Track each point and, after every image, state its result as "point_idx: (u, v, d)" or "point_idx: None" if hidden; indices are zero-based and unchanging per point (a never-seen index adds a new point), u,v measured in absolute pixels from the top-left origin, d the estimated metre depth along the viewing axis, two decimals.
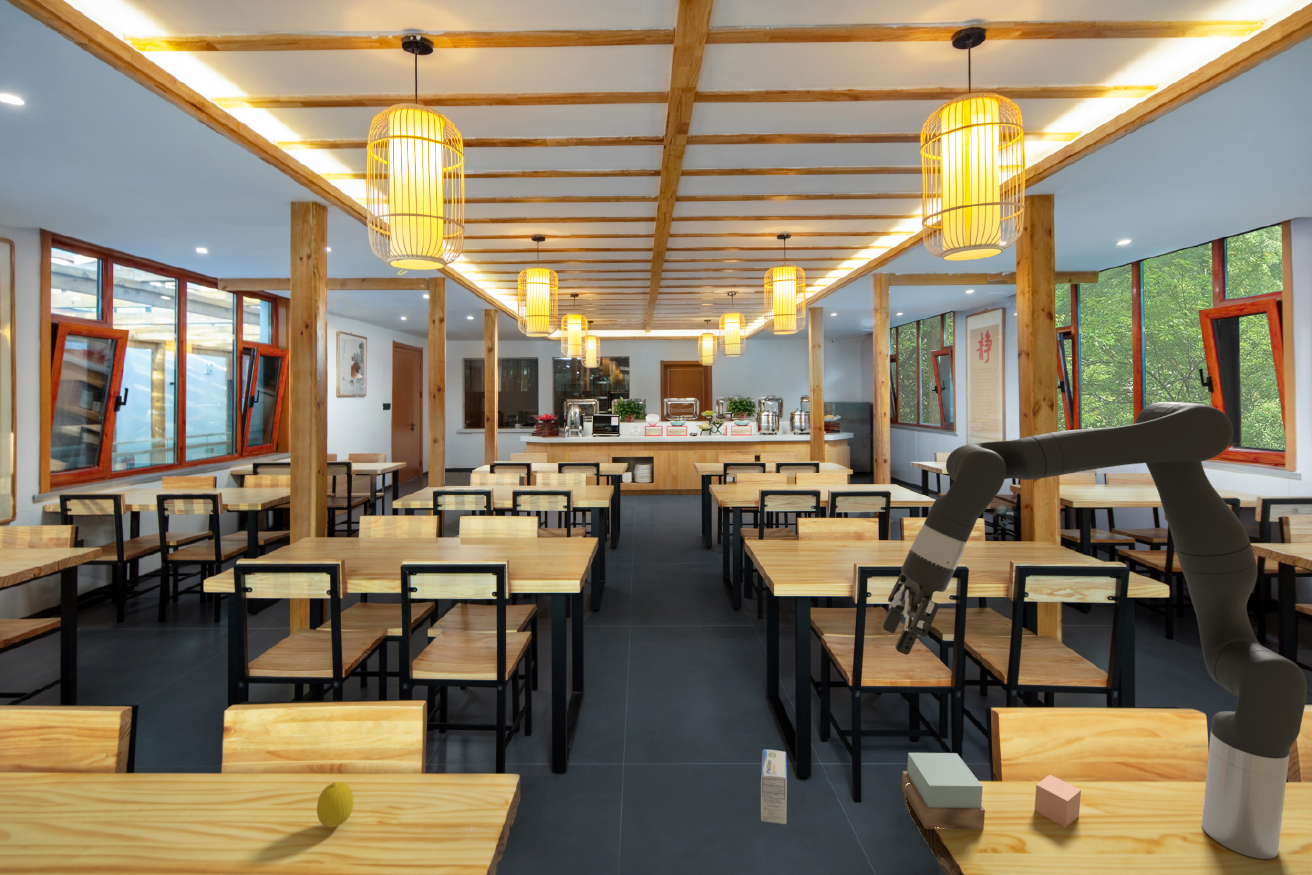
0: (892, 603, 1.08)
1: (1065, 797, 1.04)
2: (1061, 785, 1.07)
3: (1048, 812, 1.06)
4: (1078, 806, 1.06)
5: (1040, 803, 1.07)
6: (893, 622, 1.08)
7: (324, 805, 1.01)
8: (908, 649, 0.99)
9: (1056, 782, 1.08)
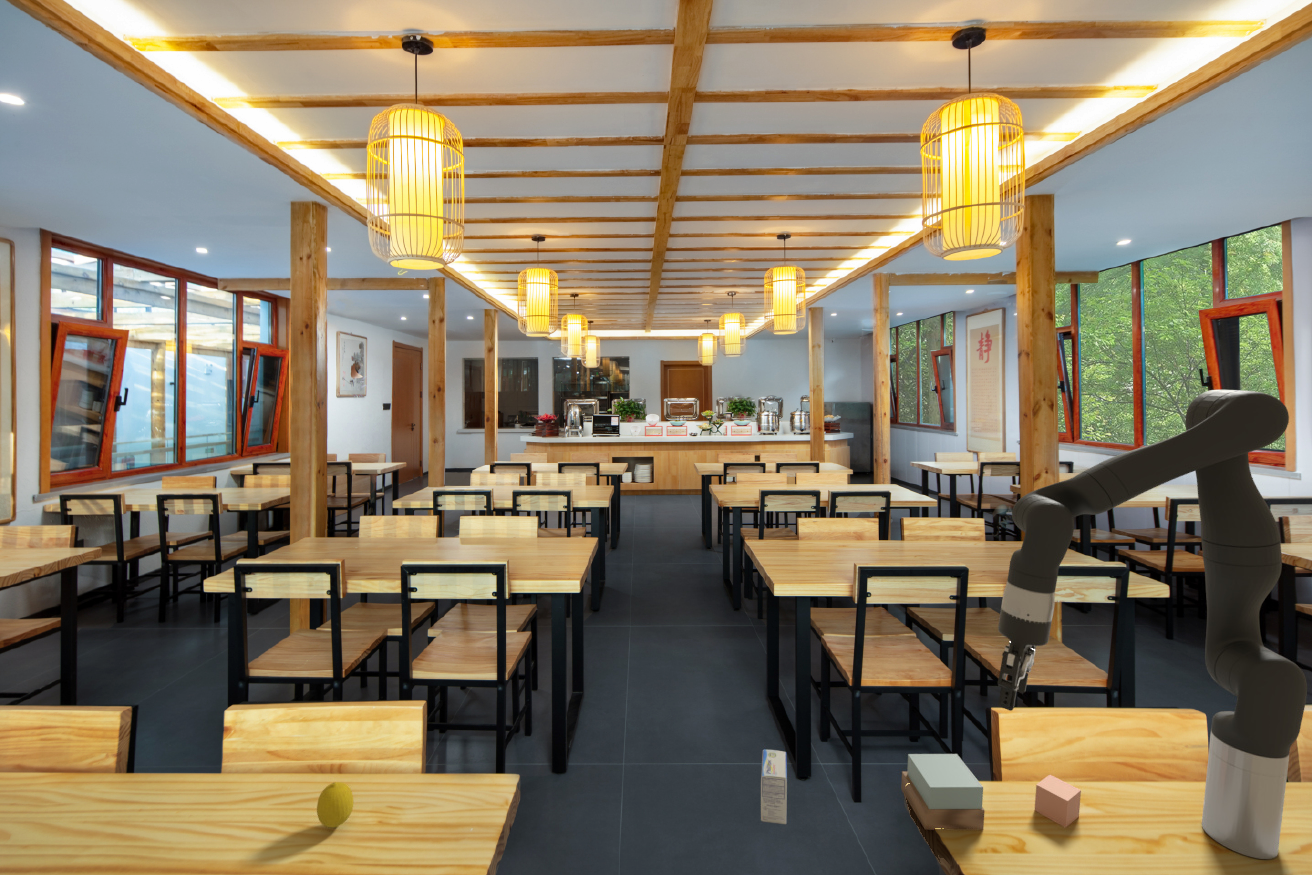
0: None
1: (1065, 797, 1.04)
2: (1061, 785, 1.07)
3: (1048, 812, 1.06)
4: (1078, 806, 1.06)
5: (1040, 803, 1.07)
6: (1020, 681, 1.08)
7: (324, 805, 1.01)
8: (1008, 704, 1.01)
9: (1056, 782, 1.08)
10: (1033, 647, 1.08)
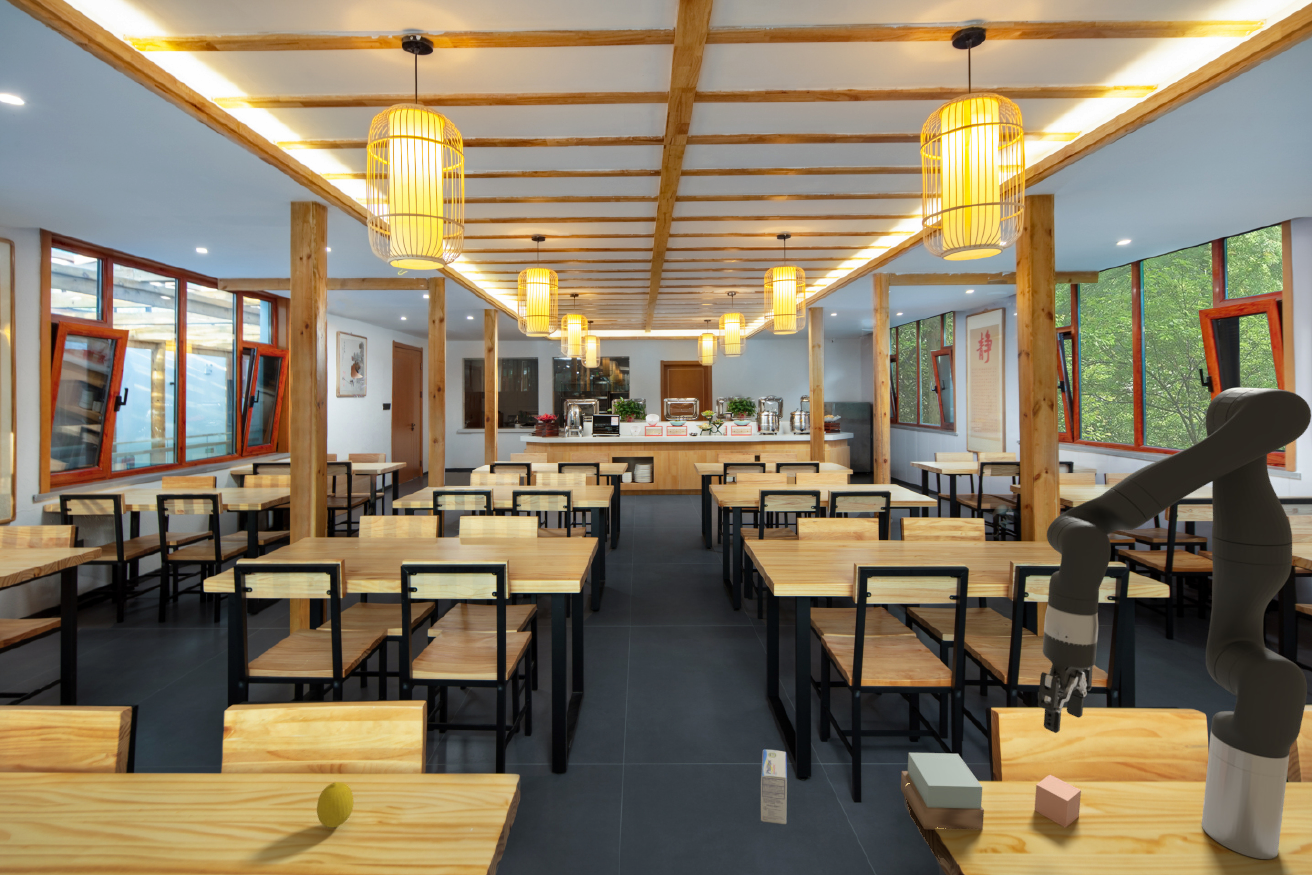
0: None
1: (1065, 797, 1.04)
2: (1061, 785, 1.07)
3: (1048, 812, 1.06)
4: (1078, 806, 1.06)
5: (1040, 803, 1.07)
6: (1075, 705, 1.07)
7: (324, 805, 1.01)
8: (1051, 726, 1.02)
9: (1056, 782, 1.08)
10: (1088, 671, 1.07)
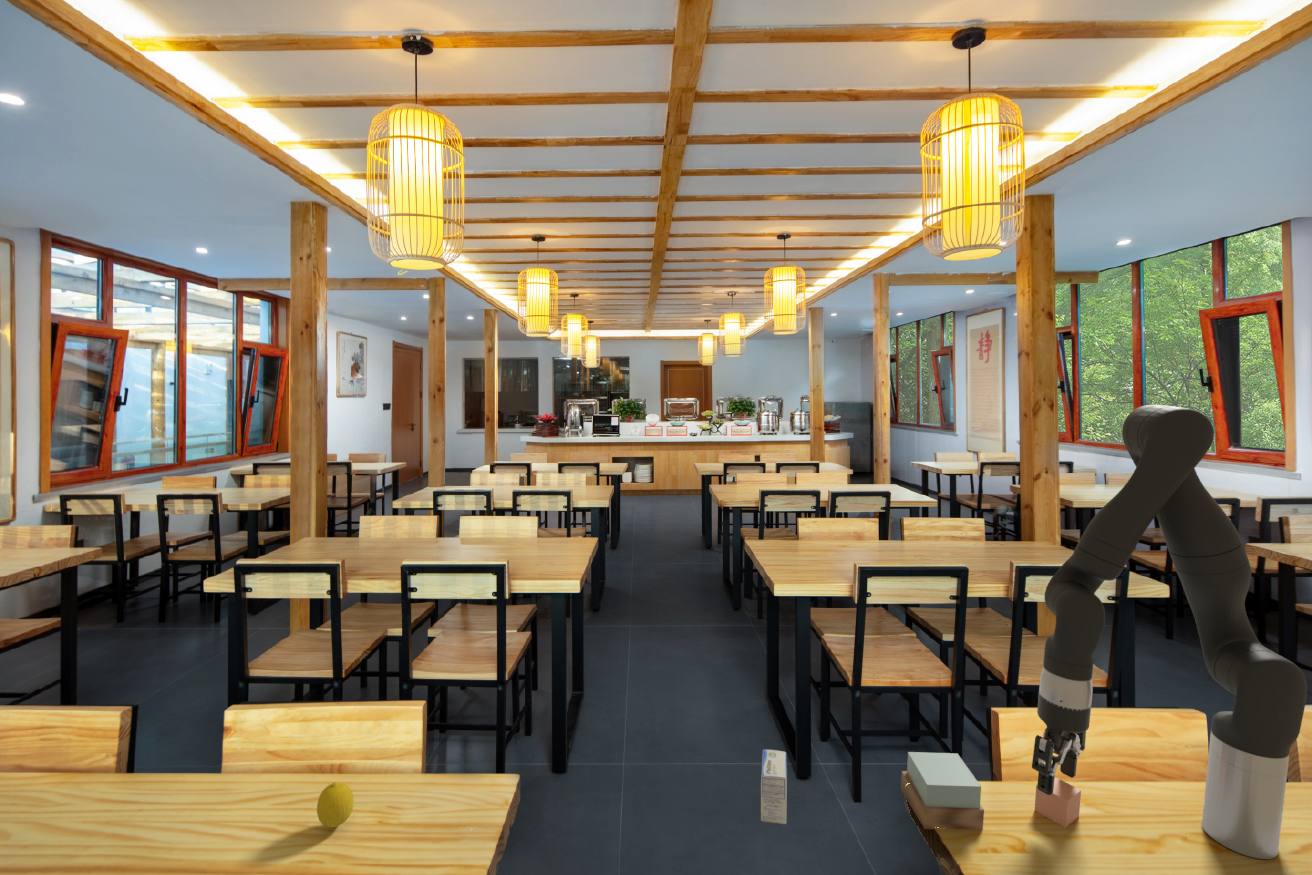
0: None
1: (1065, 797, 1.04)
2: (1061, 785, 1.07)
3: (1048, 812, 1.06)
4: (1078, 806, 1.06)
5: (1040, 803, 1.07)
6: (1068, 765, 1.08)
7: (324, 805, 1.01)
8: (1045, 788, 1.03)
9: (1057, 782, 1.08)
10: (1081, 731, 1.08)
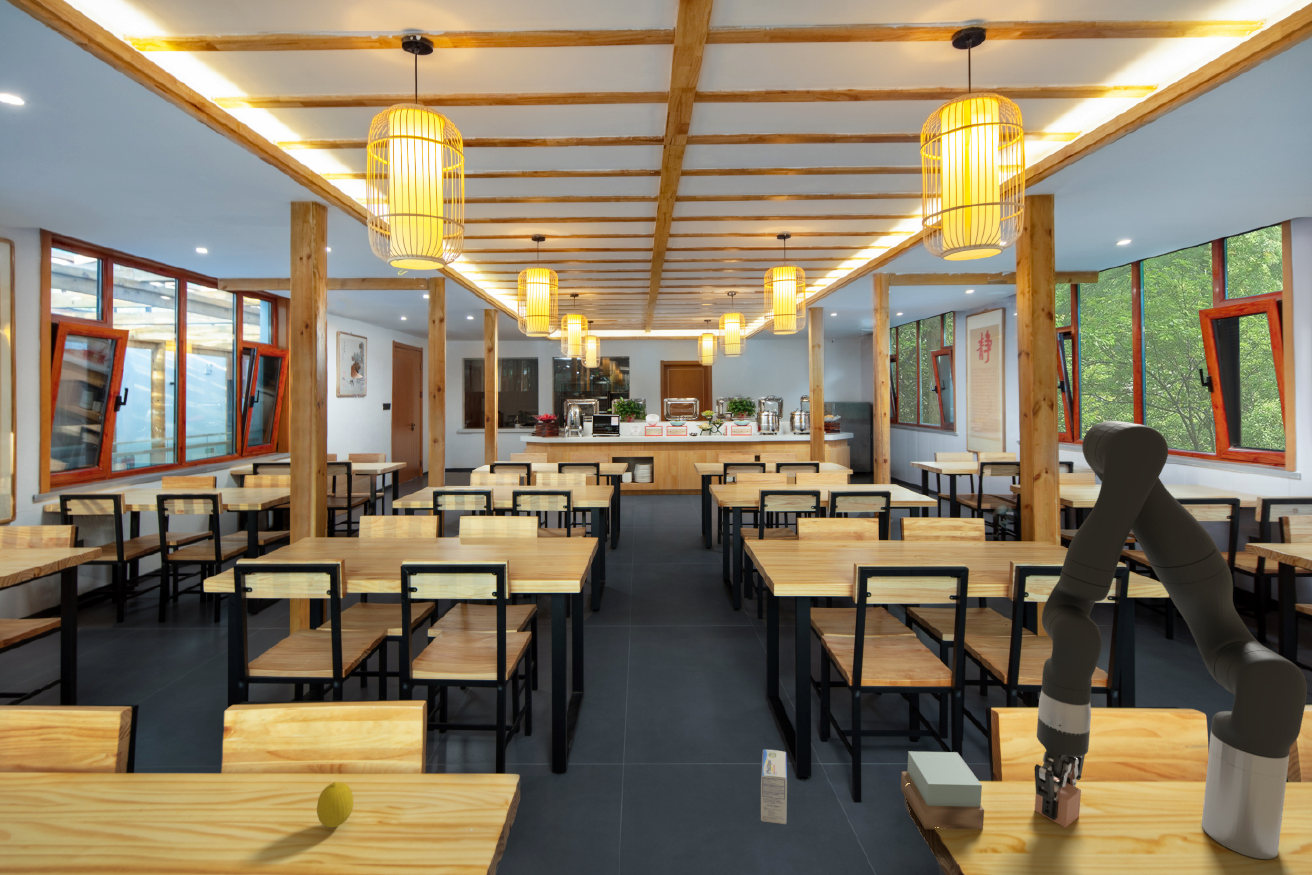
0: None
1: (1065, 797, 1.04)
2: None
3: None
4: (1078, 806, 1.06)
5: (1040, 803, 1.07)
6: None
7: (324, 805, 1.01)
8: (1049, 813, 1.04)
9: None
10: (1080, 758, 1.08)
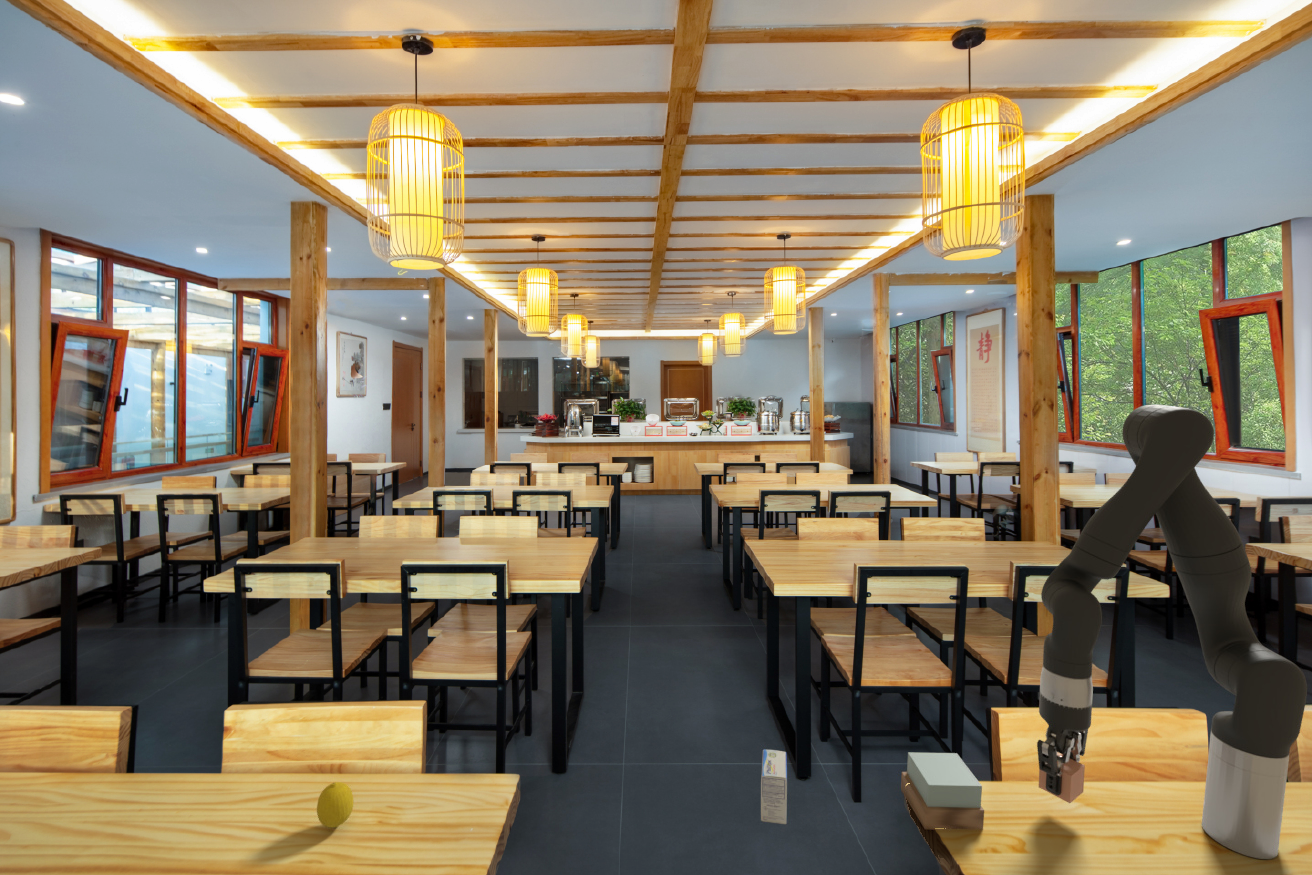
0: None
1: (1068, 772, 1.03)
2: None
3: None
4: (1082, 781, 1.05)
5: (1044, 779, 1.06)
6: None
7: (324, 805, 1.01)
8: (1053, 789, 1.04)
9: None
10: (1083, 734, 1.08)
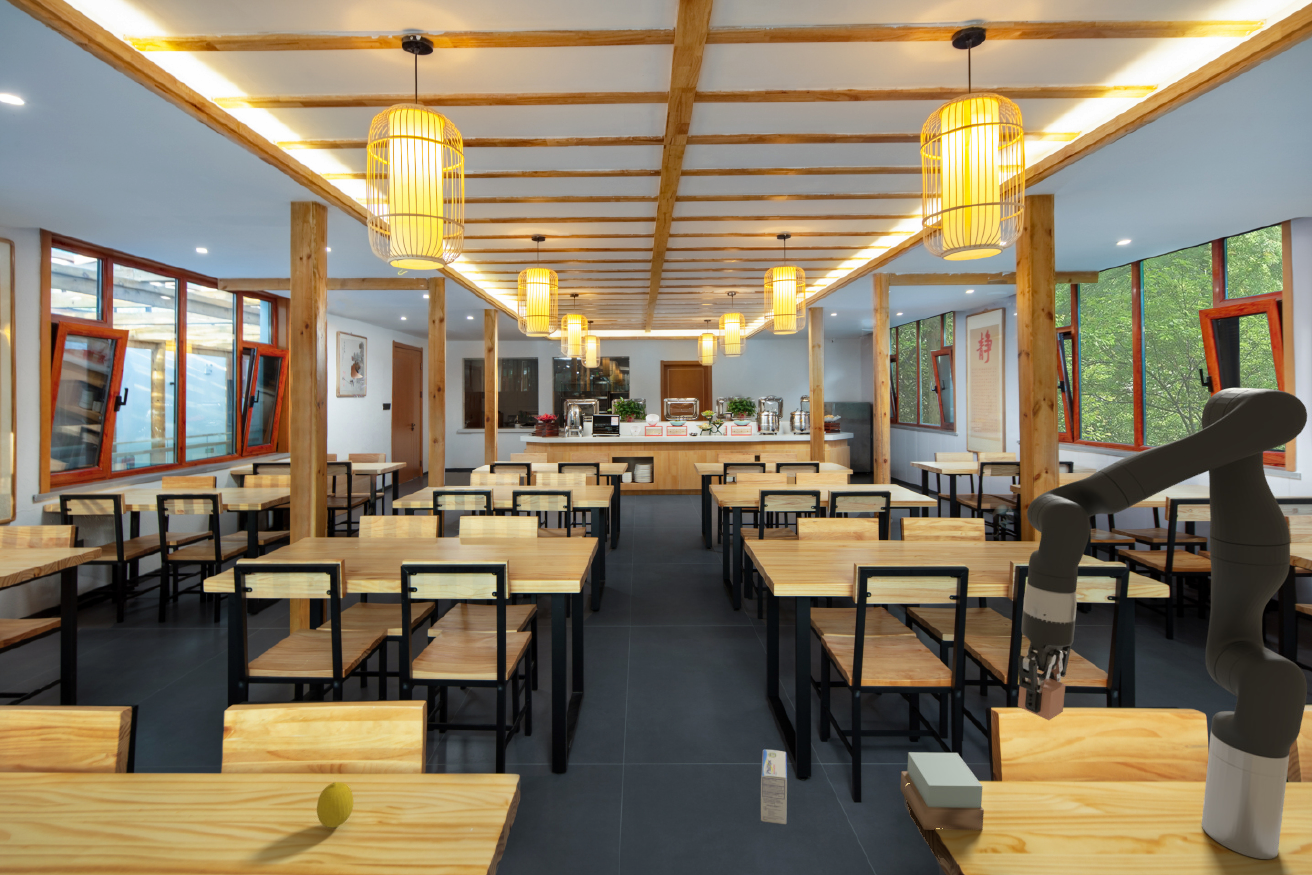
0: (1043, 671, 1.07)
1: (1048, 689, 1.02)
2: None
3: None
4: (1062, 701, 1.04)
5: (1024, 698, 1.05)
6: None
7: (324, 805, 1.01)
8: (1032, 706, 1.03)
9: None
10: (1065, 655, 1.06)
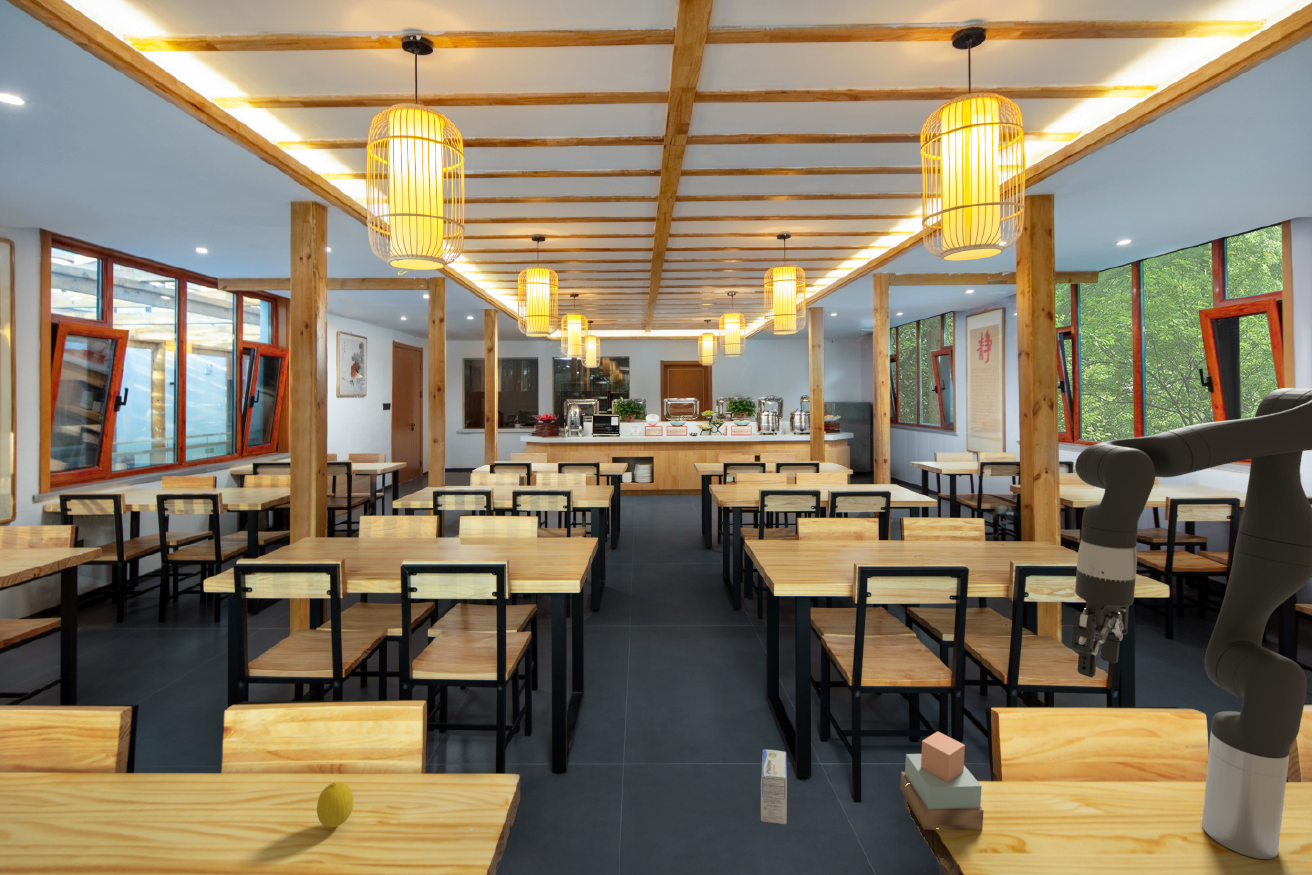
0: None
1: (947, 752, 1.04)
2: (946, 741, 1.07)
3: (933, 767, 1.06)
4: (962, 761, 1.06)
5: (926, 759, 1.07)
6: (1110, 650, 0.99)
7: (324, 805, 1.01)
8: (1086, 670, 0.94)
9: (942, 738, 1.08)
10: (1124, 613, 0.99)
